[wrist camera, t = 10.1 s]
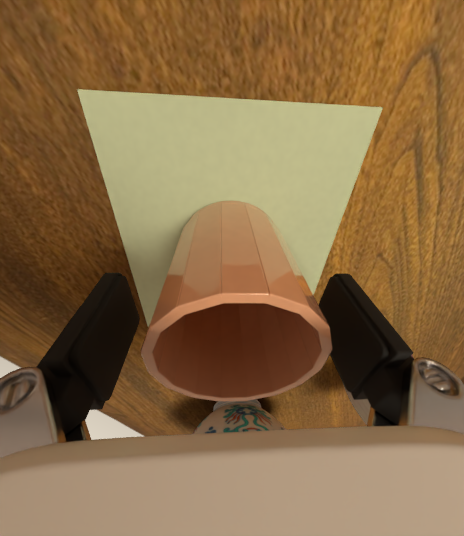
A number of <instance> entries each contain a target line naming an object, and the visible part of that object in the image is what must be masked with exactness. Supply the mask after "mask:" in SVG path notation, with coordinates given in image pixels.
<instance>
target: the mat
mask: <svg viewBox="0 0 464 536" xmlns="http://www.w3.org/2000/svg"><path fill="white" fill-rule="evenodd" d="M77 91H78V94H79V98H80V101H81V105H82V108H83V111H84V115H85V118H86V121H87V125H88V128H89V131H90V135H91V138H92V141H93V145H94V148H95V151H96V155H97V158H98V161H99V165H100V168H101V171H102V175H103V178H104V181H105V185H106V188H107V191H108V195H109V198H110V201H111V205H112V208H113V211H114V215H115V218H116V222H117V225H118V228H119V232H120V235H121V238H122V242H123V245H124V248H125V252H126V255H127V258H128V262H129V265H130V268H131V272H132V275H133V278H134V282H135V285H136V288H137V292H138V295H139V298H140V302H141V305H142V308H143V312H144V315H145V318H146V322H147V325H148V326H149V325H150V322H151V319H152V316H153V313H154V310H155V308H156V305H157V302H158V299H159V296H160V293H161V290H162V287H163V284H164V282H165V279H166V276H167V273H168V270H169V267H170V264H171V261H172V258H173V256H174V253H175V250H176V247H177V244H178V241H179V238H180V235H181V233H182V230H183V228H184V226H185V224H186V223H187V221H188V220H189V219H190V218H191V217H192V216H193V215H194V214H195V213H196V212H197V211H199V210H200V209H202V208H203V207H206V206H208V205H210V204H213V203H216V202H221V201H241V202H245V203H249V204H251V205H254V206H256V207H258V208H260V209H261V210H262V211H264V212H265V213H266V214H267V215H268V216H269V217H270V218H271V219H272V220H273V222H274V223H275V225H276V226H277V227H278V229H279V230H280V232H281V234H282V236H283V238H284V240H285V242H286V244H287V246H288V248H289V250H290V252H291V253H292V255H293V257H294V259H295V261H296V263H297V265H298V267H299V269H300V271H301V273H302V275H303V277H304V278H305V280H306V282H307V284H308V286H309V288H310V290H311V292H312V294H313V295H314V292H315V289H316V287H317V284H318V281H319V279H320V276H321V273H322V270H323V268H324V265H325V262H326V260H327V257H328V254H329V252H330V249H331V246H332V243H333V241H334V238H335V235H336V233H337V230H338V227H339V225H340V222H341V219H342V216H343V214H344V211H345V208H346V206H347V203H348V200H349V198H350V195H351V192H352V189H353V187H354V184H355V181H356V179H357V176H358V173H359V171H360V168H361V165H362V162H363V160H364V157H365V154H366V152H367V149H368V146H369V144H370V141H371V138H372V135H373V133H374V130H375V127H376V125H377V122H378V119H379V117H380V114H381V111H382V108H383V107H369V106H352V105H335V104H318V103H301V102H284V101H267V100H250V99H234V98H217V97H200V96H183V95H166V94H149V93H132V92H115V91H98V90H81V89H77Z"/></svg>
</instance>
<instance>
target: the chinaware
mask: <svg viewBox="0 0 464 536" xmlns="http://www.w3.org/2000/svg"><path fill="white" fill-rule="evenodd" d="M269 430H286V429H285V428H284V426H283V425H282V424H281V423H280V422H279V421H278V420H277V419H276V418H275V417H273V416H272V415H271V414H269V413H268V412H266V411H265V410H263V409H261V404H260V402H259V401H258V400H256V399H254V400H248V401H221V402H220V401H218V402H217V403H216V404H215V405H214V408H213V412H212V413H211V414H209V415H208V416H207V417H206V418H205V419H204V420H203V421H202V422H201V423H200V424H199V425H198V426H197V428H196V429H195V430H194V432H193V433H192V434H204V433H225V432H247V431H269Z"/></svg>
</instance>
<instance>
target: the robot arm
mask: <svg viewBox="0 0 464 536" xmlns="http://www.w3.org/2000/svg"><path fill="white" fill-rule="evenodd" d="M319 307H320V309H321V311H322V313H323V315H324V317H325V319H326V321H327V323H328V325H329V327H330V333H331V340H332V351H331V353H330V356H331V358H332V360H333V362H334V364H335V366H336V369H337V371H338V373H339V375H340V377H341V379H342V382H343V384H344V386H345V388H346V390H347V391H348V392H351V394H352V397H353V399H354V400H361V399H368V401H369V403H370V405H371V406H370V412H369V417H368V422H367V426H364V427H339V428H314V429H291V430H269V431H247V432H225V433H204V434H185V435H165V436H145V437H126V438H112V439H99V440H91V438H90V434H89V431H88V428H87V425H86V422H85V419H86V417H87V415H88V412H89V410H93V409H102V408H103V405H104V403H105V401H107V400H109V399H110V397H111V395H112V392H113V390H114V387H115V385H116V382H117V379H118V377H119V374H120V372H121V369H122V366H123V364H124V361H125V358H126V356H127V353H128V351H129V348H130V345H131V343H132V340H133V337H134V335H135V332H136V330H137V327H138V324H139V314H138V311H137V308H136V305H135V302H134V299H133V296H132V293H131V290H130V287H129V284H128V281H127V278H126V277H125V276H122V274H121V273H105V274H104V275H103V276H102V277H101V279H100V280H99V282H98V283H97V284H96V286H95V287H94V289H93V290H92V291H91V293H90V294H89V296H88V297H87V298H86V300H85V301H84V303H83V304H82V305H81V306H80V307H79V309H78V310H77V312H76V313H75V314H74V316H73V317H72V319H71V320H70V321H69V323H68V324H67V325H66V327H65V328H64V330H63V331H62V332H61V334H60V335H59V337H58V338H57V339H56V341H55V342H54V344H53V345H52V346H51V348H50V349H49V351H48V352H47V353H46V355H45V356H44V357H43V359H42V360H41V362H40V363H39V364H38V366H37V367H25V368H20V369H17V370H15V371H12V372H10V373H8V374H7V375H5V376H4V377H2V378H0V536H464V384H463V383H462V382H461V380H460V379H459V378H458V377H457V375H456V374H455V373H454V372H452V371H451V370H450V369H449V368H447V367H446V366H444V365H443V364H441V363H439V362H437V361H435V360H432V359H430V358H424V357H421V358H416V359H415V360H414V358H413V357H412V356H411V355H412V354H413V352H412V350H411V349H410V348H409V347H408V345H407V344H406V343H405V342H404V341H403V339H402V338H401V337H400V336H399V334H398V333H397V332H396V331H395V329H394V328H393V327H392V326H391V324H390V323H389V322H388V321H387V320H386V318H385V317H384V316H383V315H382V313H381V312H380V311H379V310H378V308H377V307H376V306H375V305H374V303H373V302H372V301H371V300H370V299H369V297H368V296H367V295H366V294H365V292H364V291H363V290H362V289H361V287H360V286H359V285H358V284H357V282H356V281H355V280H354V279H353V278H352V276H351V275H350V274H335V275H334V276H333V277H331V278H330V279H329V281H328V284H327V286H326V289H325V291H324V293H323V296H322V298H321V300H320V303H319Z"/></svg>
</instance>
